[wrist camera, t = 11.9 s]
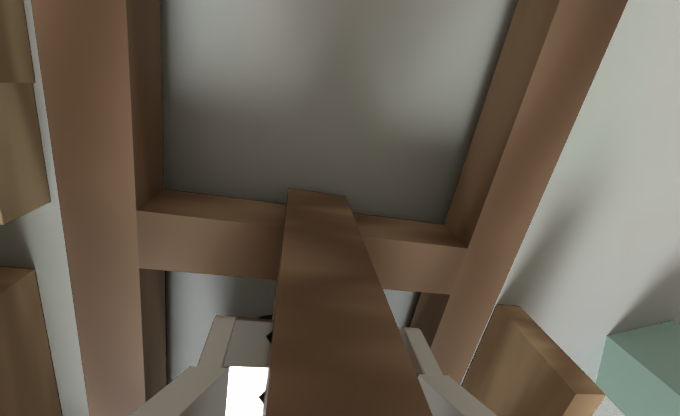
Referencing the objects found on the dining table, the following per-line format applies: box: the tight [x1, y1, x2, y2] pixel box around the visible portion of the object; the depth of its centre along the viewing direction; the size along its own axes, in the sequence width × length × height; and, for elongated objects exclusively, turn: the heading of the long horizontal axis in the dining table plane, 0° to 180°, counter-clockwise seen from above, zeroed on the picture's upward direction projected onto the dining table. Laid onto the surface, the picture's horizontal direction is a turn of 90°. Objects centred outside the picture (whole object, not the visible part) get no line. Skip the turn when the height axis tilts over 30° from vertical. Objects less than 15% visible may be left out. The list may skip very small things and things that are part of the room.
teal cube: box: [596, 320, 680, 416], centre depth 21 cm, size 5×5×5 cm
